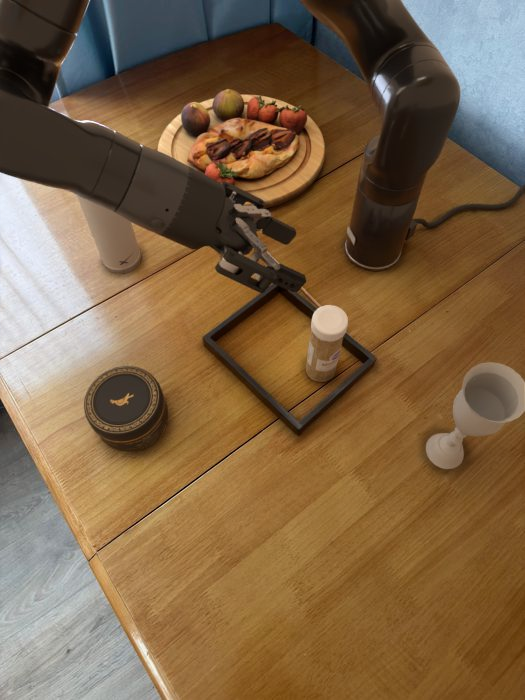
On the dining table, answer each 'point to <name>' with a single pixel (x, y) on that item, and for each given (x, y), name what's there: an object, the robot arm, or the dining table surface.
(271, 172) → the wooden plate
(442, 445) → the chalice
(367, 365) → the picture frame
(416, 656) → the dining table surface
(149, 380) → the jar
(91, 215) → the travel mug
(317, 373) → the sprinkles bottle
